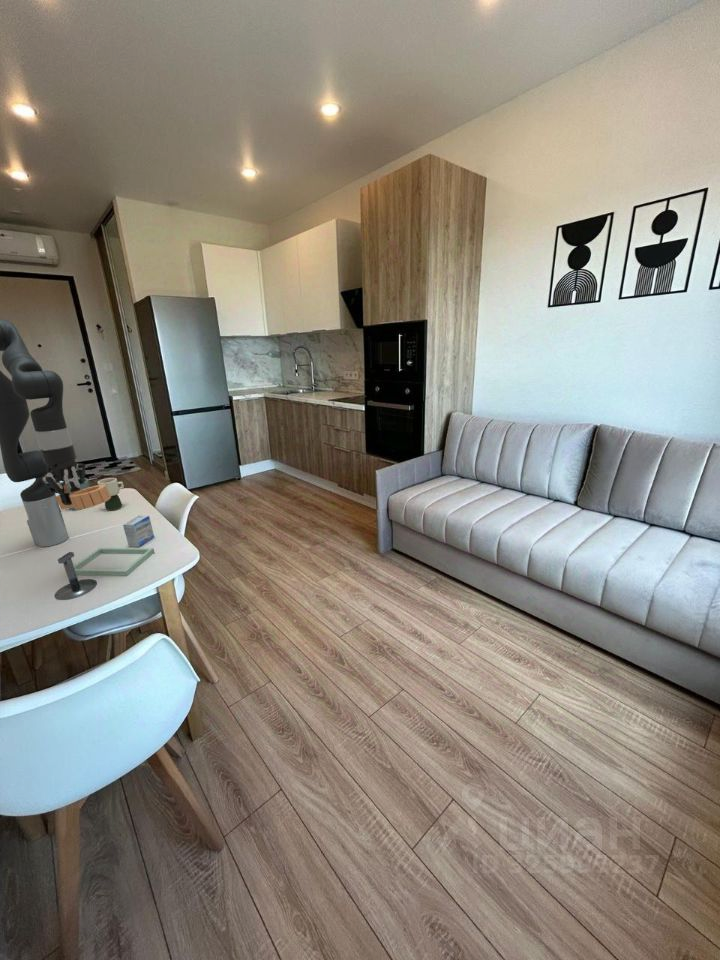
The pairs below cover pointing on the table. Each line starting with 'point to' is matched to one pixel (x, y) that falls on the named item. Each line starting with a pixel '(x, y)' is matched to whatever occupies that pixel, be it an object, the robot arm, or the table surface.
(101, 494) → the ring
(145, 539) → the medicine box
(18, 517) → the table surface
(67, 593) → the metal post stand
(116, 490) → the character mug
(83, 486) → the teal pot
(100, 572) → the green rhombus frame
